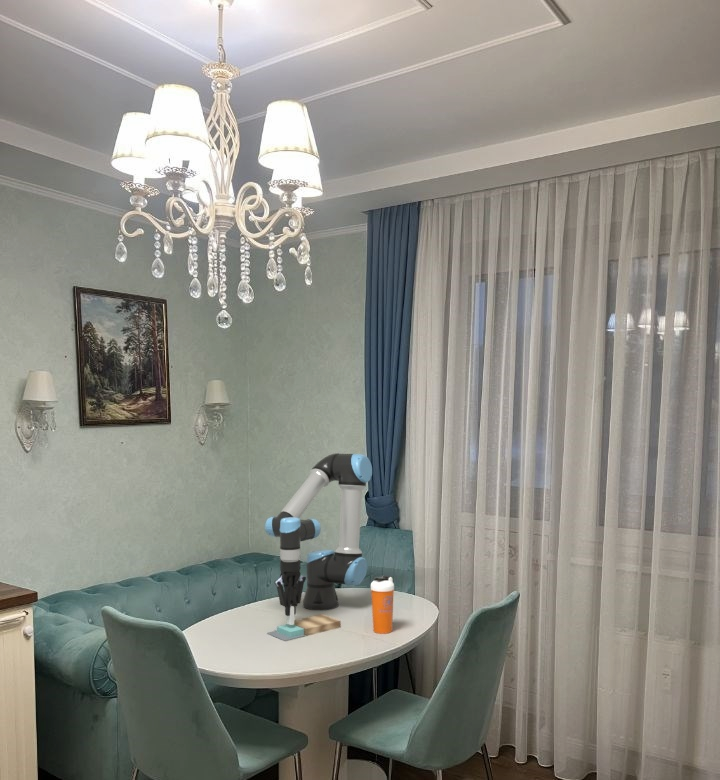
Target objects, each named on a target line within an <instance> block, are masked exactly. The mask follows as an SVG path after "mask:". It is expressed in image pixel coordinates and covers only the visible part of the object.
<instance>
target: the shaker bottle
mask: <svg viewBox="0 0 720 780" xmlns="http://www.w3.org/2000/svg"><path fill="white" fill-rule="evenodd" d="M393 581H394V580H393V577H391V576H388V575H386V574H384V575H383V574H382V576H375V577H373V581H371V583H370V591H371V592H370V593H371V610H372V612H371V613H372V631H373V633H376V634H381V635H383V634H385V635H386V634H390V633H392V631H393V617H394V616H393V615H394V590H395V583H394V582H393Z"/></svg>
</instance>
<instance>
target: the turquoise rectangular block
mask: <svg viewBox="0 0 720 780" xmlns="http://www.w3.org/2000/svg"><path fill="white" fill-rule="evenodd" d="M276 631H277V632H278V633H281V634H283V635H285V636H288V637H290V638H291V637H295V636H299V635H303V634H304V629H303V628H301V627H298V626H296V625H289V624H287V623H286V624H281V625H278V626H276Z"/></svg>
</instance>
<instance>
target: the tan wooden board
mask: <svg viewBox="0 0 720 780" xmlns="http://www.w3.org/2000/svg"><path fill="white" fill-rule="evenodd" d="M341 622H342V621H341V620H340V619H336V618H333V617H331V616H329V615H326V614H317V615H312V616H308V617H304V618H299V619H296V620H295V619H294V625H296V626H298V627H301V628H303V629H304V634H303V635H305V637H307V636H312V635H315V634H320V633H324V632H327V631H331V630H336V629H339V628H341V626H342V625H341V624H342V623H341Z"/></svg>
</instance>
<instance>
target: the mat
mask: <svg viewBox="0 0 720 780" xmlns="http://www.w3.org/2000/svg"><path fill="white" fill-rule="evenodd" d="M266 635H269V636H271V637H275V638H276V639H279V640H281V641H283V642H287V641H291V640H296V639H301V638H304V637H306V635H299V636H295V637H291V638H290V637H288V636H285V635H283V634H281V633H278V632H277V630H273V631H269V632H266Z"/></svg>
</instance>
